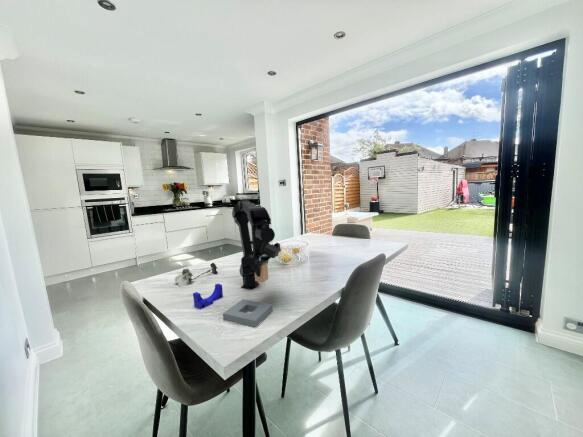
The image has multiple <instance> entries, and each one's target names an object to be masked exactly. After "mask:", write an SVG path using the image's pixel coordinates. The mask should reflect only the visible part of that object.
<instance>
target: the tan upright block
mask: <svg viewBox="0 0 583 437" xmlns="http://www.w3.org/2000/svg"><path fill="white" fill-rule="evenodd" d="M261 261H263V262H262V264H261V266H260V277H257V275H256V273H255V281H258V283H259V282H260V283H265V282H266V281H267V280H268V279H269V267H268V265H269V263H268V264H267V260H261Z"/></svg>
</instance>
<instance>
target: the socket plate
mask: <svg viewBox="0 0 583 437" xmlns="http://www.w3.org/2000/svg"><path fill="white" fill-rule="evenodd" d="M273 308H274V307H273V304H271V303H266V302H260V301H255V300H250V299H244V298H243V299H241V300H239V301H237V303H235V304H234V305H232V306H231V307H230V308H229V309H227V310H226V311H224V312H223V313H222V317H223V321H226V320H227V322H230V321H232V322H231V323H234V322H236V324H239V323H240V324H239V325H243V324H244V325H243V326H247V325H248V326H247V327H251V326H253V327H252V328H255V327H256V326H257V325H258V324H259V323H260V322H261V321H262V322H263V321H264V320H265V319H266V318H267V317H268V316H270V314H271V313H273ZM247 310H248V311H247ZM252 311H253V312H252ZM244 312H245V313H244ZM248 312H251V313H248ZM262 322H261V323H262ZM261 323H260V324H261ZM260 324H259V325H260ZM259 325H258V326H259ZM258 326H257V327H258ZM257 327H256V328H257Z"/></svg>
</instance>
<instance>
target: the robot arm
mask: <svg viewBox="0 0 583 437" xmlns="http://www.w3.org/2000/svg"><path fill="white" fill-rule="evenodd" d="M231 215H232V218H233V221H234V223H235V224H236V226H238V230H239V237H240V242H241V248H242V249H241V250H242V257H240V258H241V259H240V263H241V264H240V266H239V270H238V271H239V275H240V276H241V277H242V285H241V288H242V289H247V290H248V289H249V290H253V289H255V288H256V287H258V286H259V285H260V283H259V282H258V281H255V273H256V275H257V277H260V266H261V264H262V262H263V261H261V260H267V264H268V265H269V261H270V260H271V259H275V258H276V257H278V256H279V255H280V252H281V251H282V248H281V243H279V242H276V243H274V244H273V243H272V244H271V242H272V241H273V240H274V239H275V236H276V234H275V231H274V229H273V228H271V227H270V225H272V223H271V221H272V218H271V217H270V214H269V212H268V210H267V208H266V207H263V206H256V205H255V204H253V203H252V202H251V200H249V199H244V200H239V201H238V202H237V204H236V205H234V206H233V207H232V211H231ZM249 224H250V226H251V228H250V229H251V235H250V229H249Z"/></svg>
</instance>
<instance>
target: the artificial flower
mask: <svg viewBox="0 0 583 437" xmlns="http://www.w3.org/2000/svg"><path fill="white" fill-rule="evenodd" d="M210 267H211V269H209V270H207V271H205V272H203V273H201V274H199V275H198V276H196V277H194V278H192V277H193V276H194V272H193V273H192V272H191V271H190V269H189V268H188V267H187V268H184V269H182V272H181V273H180V274H178V275H177V276H175V277H174V282H175V283H176V284H177V283H178V287H184V286H187V285H189V284H190V281H193V280H195V279H197V278H199V277H200V276H203V275H204V274H208V273H210V272H212V273H213V274H218V273H219V272H218V271H217V269H218V267H217V265H216V263H215V262H212V263H210Z"/></svg>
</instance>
